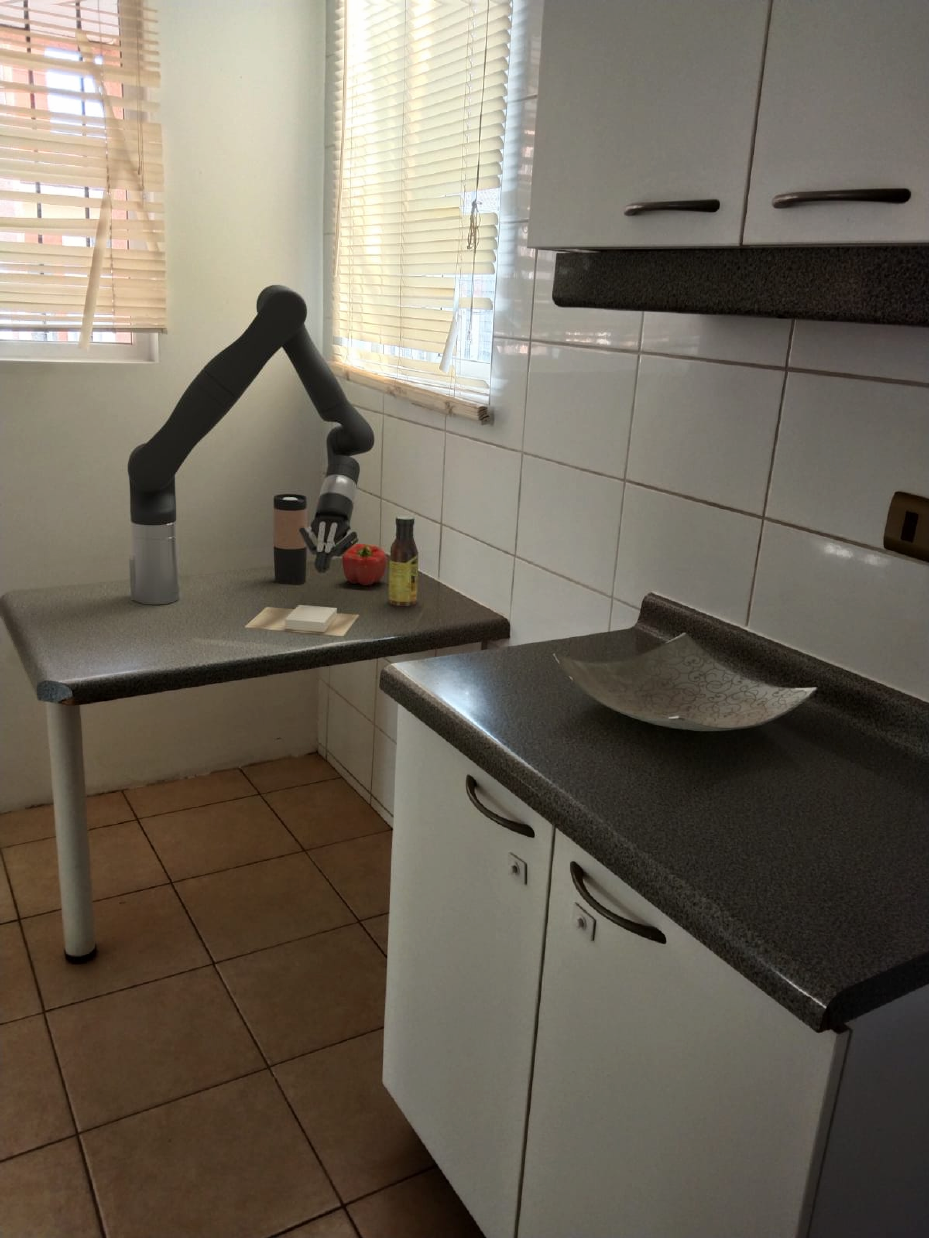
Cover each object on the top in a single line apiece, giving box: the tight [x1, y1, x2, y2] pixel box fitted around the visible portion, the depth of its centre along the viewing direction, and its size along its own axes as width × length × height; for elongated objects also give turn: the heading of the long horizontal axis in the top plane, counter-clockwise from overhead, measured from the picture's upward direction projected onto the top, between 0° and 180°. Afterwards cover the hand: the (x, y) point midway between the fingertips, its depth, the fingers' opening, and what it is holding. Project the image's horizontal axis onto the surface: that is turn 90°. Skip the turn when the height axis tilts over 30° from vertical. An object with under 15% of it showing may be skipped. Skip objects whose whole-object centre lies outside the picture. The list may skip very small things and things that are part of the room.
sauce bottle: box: [388, 515, 419, 607], centre depth 218 cm, size 7×6×20 cm
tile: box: [285, 604, 338, 632], centre depth 203 cm, size 8×2×10 cm
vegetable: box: [341, 543, 388, 586], centre depth 235 cm, size 11×10×10 cm
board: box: [244, 606, 360, 637], centre depth 204 cm, size 20×14×1 cm
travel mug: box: [272, 493, 308, 586], centre depth 232 cm, size 8×8×20 cm
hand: (320, 570), depth 207 cm, fingers closed
